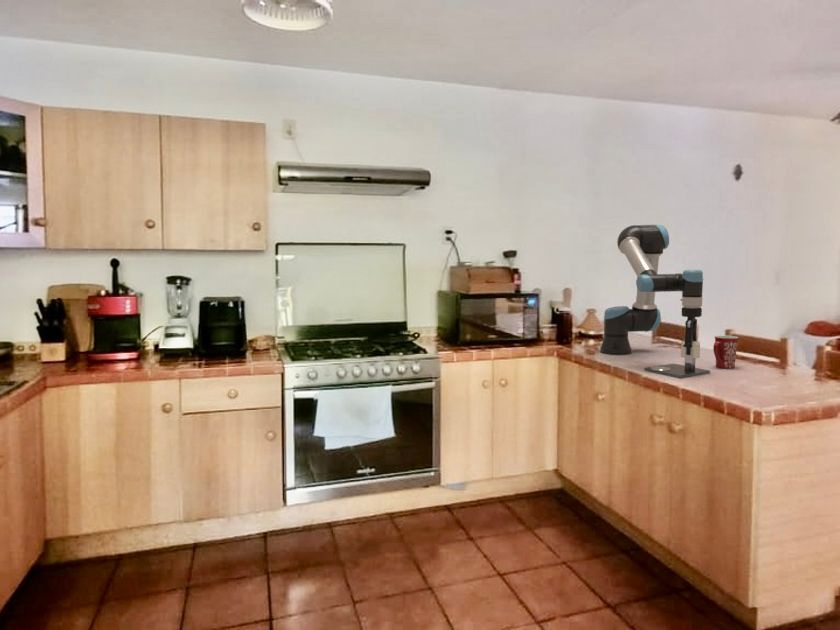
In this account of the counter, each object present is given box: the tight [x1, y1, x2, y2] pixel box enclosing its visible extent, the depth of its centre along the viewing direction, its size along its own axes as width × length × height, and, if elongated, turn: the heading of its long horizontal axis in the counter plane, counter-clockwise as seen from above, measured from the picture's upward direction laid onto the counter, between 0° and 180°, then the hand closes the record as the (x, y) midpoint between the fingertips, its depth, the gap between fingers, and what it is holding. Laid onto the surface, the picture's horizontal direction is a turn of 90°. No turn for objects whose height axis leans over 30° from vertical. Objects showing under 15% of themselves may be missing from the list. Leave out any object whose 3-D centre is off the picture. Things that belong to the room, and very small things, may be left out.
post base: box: [644, 358, 711, 379], centre depth 235 cm, size 18×18×9 cm
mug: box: [712, 334, 739, 369], centre depth 242 cm, size 13×9×14 cm
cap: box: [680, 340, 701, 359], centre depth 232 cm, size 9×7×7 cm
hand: (690, 360), depth 233 cm, fingers closed on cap, 9 cm apart
